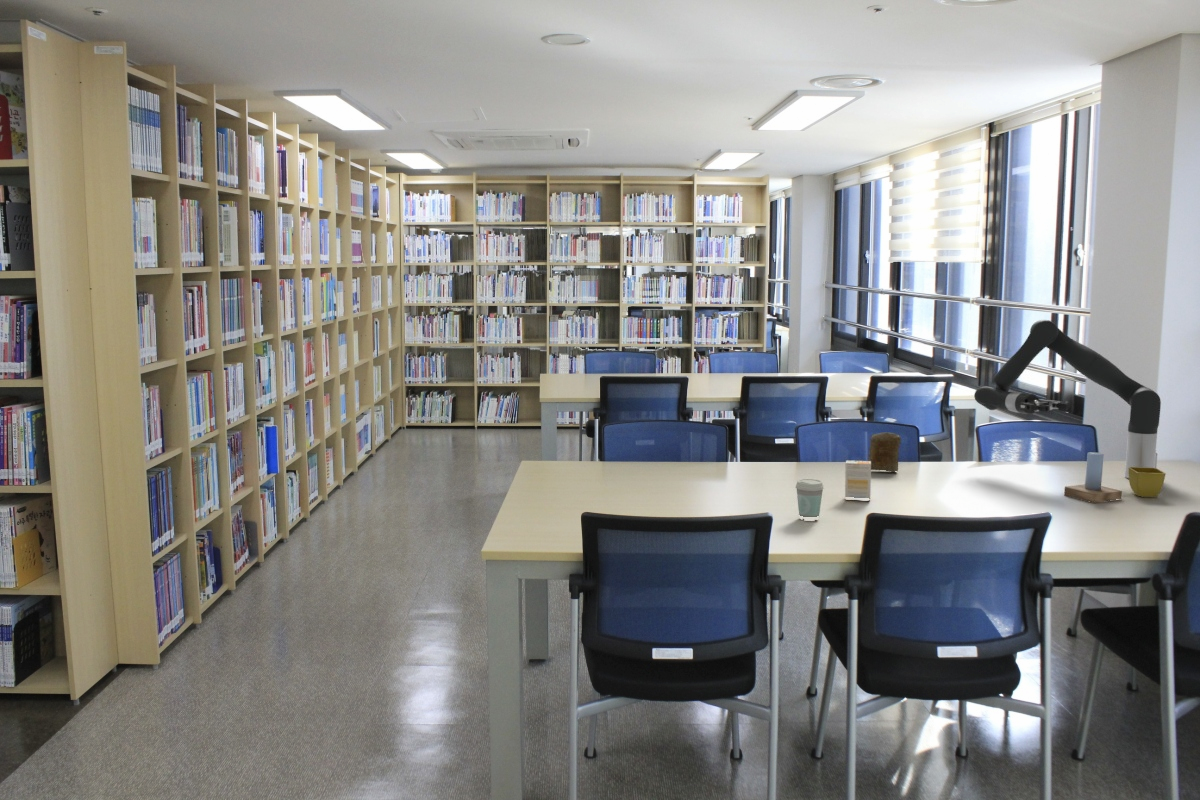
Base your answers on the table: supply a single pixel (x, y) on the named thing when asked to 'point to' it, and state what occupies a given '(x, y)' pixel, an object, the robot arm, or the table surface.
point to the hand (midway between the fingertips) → (1058, 407)
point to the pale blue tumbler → (1094, 471)
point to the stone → (884, 451)
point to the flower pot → (1146, 481)
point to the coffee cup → (809, 497)
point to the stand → (1092, 493)
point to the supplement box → (858, 479)
